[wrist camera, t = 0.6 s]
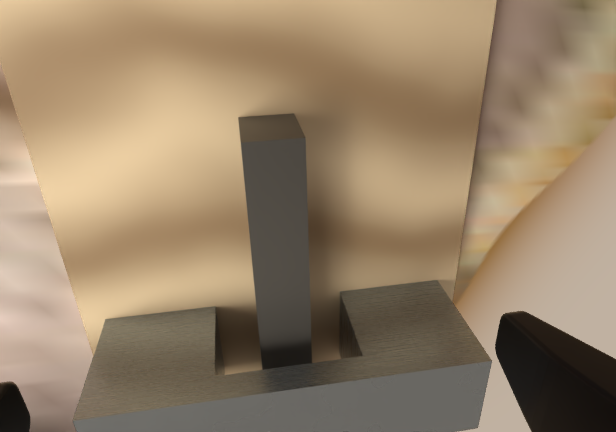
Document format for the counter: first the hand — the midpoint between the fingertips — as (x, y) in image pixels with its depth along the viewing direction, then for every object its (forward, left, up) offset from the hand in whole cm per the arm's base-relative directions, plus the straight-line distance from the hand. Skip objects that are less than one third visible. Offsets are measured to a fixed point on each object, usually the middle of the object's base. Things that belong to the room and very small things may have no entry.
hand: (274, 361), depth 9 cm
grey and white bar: (-7, -4, -12) cm, 14 cm away
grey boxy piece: (-9, -5, -12) cm, 15 cm away
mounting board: (-4, -3, -13) cm, 14 cm away
